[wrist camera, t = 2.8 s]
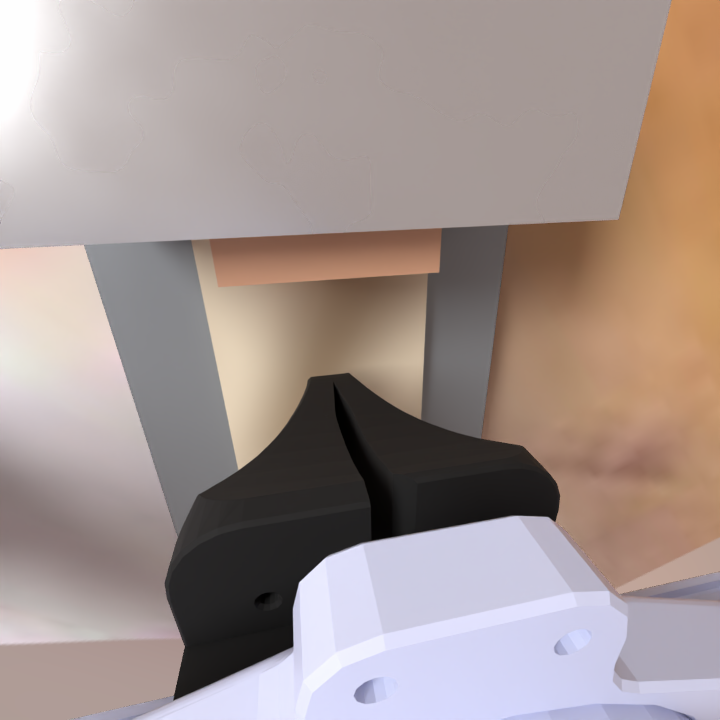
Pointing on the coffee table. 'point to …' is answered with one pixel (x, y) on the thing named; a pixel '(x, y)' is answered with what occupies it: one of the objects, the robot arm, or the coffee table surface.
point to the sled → (310, 344)
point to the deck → (199, 369)
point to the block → (325, 256)
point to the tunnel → (315, 115)
